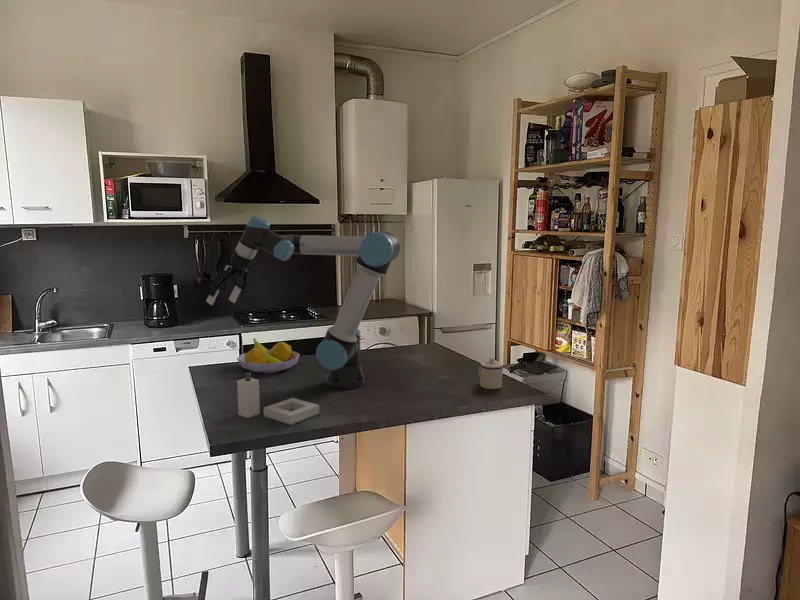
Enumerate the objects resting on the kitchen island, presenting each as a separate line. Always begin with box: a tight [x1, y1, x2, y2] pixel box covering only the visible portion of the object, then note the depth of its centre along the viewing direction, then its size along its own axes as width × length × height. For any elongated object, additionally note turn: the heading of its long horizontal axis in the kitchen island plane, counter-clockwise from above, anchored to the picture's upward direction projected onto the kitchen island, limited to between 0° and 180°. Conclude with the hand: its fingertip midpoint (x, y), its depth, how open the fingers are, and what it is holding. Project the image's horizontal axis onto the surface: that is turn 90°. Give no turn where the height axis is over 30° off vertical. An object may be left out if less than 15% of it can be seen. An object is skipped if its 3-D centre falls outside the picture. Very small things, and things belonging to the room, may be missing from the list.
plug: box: [236, 372, 261, 419], centre depth 185 cm, size 5×5×14 cm
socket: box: [263, 397, 320, 427], centre depth 185 cm, size 17×13×4 cm
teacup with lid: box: [477, 357, 504, 390], centre depth 220 cm, size 12×9×12 cm
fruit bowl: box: [236, 337, 300, 374], centre depth 242 cm, size 28×27×11 cm
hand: (220, 302), depth 212 cm, fingers open, 13 cm apart
